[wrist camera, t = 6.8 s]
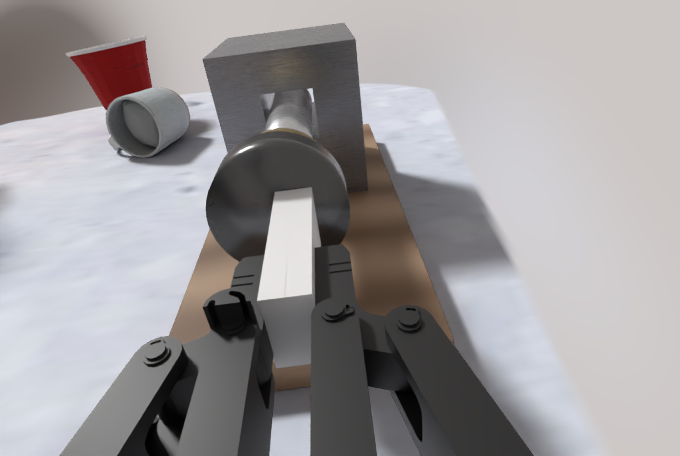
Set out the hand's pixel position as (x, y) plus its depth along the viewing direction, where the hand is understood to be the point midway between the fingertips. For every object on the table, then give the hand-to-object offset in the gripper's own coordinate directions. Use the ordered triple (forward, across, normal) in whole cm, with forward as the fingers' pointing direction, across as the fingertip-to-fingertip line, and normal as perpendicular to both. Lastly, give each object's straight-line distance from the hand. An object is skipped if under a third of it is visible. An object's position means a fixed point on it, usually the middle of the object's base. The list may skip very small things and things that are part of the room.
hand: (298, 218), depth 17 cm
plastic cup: (+50, -28, -9) cm, 58 cm away
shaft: (+9, -1, -3) cm, 10 cm away
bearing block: (+19, -1, -6) cm, 20 cm away
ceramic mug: (+38, -22, -9) cm, 45 cm away
